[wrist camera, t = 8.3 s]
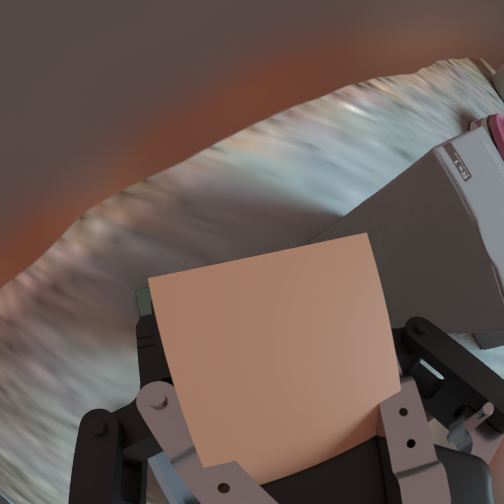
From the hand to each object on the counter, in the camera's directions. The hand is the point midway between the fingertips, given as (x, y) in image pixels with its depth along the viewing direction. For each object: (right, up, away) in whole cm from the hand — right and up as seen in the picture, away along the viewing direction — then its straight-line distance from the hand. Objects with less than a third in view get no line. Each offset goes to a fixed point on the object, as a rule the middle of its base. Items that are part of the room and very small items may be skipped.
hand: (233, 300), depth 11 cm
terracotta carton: (0, -3, +4) cm, 5 cm away
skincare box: (+9, 0, +12) cm, 15 cm away
